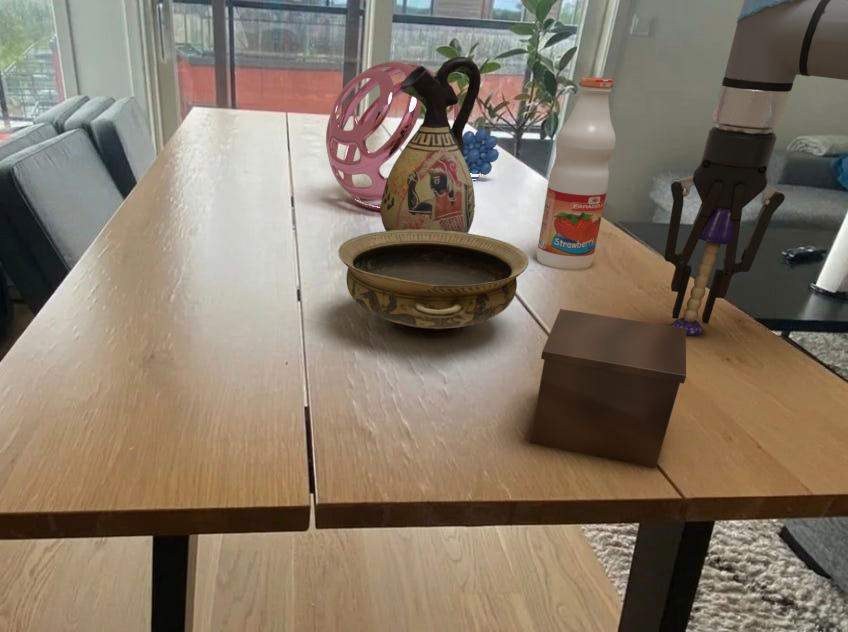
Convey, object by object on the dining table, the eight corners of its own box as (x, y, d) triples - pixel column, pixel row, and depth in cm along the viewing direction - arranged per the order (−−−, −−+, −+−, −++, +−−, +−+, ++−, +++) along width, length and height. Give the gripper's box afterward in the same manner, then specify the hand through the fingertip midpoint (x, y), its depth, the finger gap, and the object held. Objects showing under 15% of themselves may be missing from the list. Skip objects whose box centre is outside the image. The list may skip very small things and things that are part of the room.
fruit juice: (572, 253, 136) (605, 76, 121) (602, 269, 128) (642, 82, 113) (525, 256, 133) (553, 74, 118) (554, 272, 125) (588, 81, 111)
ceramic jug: (390, 270, 123) (403, 57, 107) (370, 243, 135) (379, 49, 119) (490, 268, 126) (517, 61, 110) (461, 242, 139) (482, 53, 123)
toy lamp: (694, 326, 107) (730, 202, 98) (713, 339, 103) (752, 211, 94) (663, 327, 106) (696, 202, 97) (680, 340, 102) (717, 211, 93)
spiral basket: (440, 94, 168) (364, 9, 147) (516, 148, 152) (444, 61, 131) (360, 199, 176) (278, 134, 155) (424, 261, 160) (343, 197, 139)
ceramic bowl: (340, 287, 114) (341, 218, 109) (499, 294, 115) (509, 226, 109) (331, 370, 89) (333, 285, 83) (537, 378, 89) (551, 295, 84)
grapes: (498, 180, 189) (505, 128, 183) (493, 185, 184) (500, 131, 177) (452, 175, 192) (457, 123, 186) (446, 180, 187) (451, 126, 180)
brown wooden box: (661, 416, 82) (686, 328, 77) (658, 472, 72) (686, 375, 67) (544, 394, 86) (560, 308, 80) (525, 445, 75) (542, 351, 70)
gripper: (814, 131, 92) (752, 318, 104) (673, 118, 96) (629, 300, 108) (823, 139, 86) (756, 337, 98) (672, 125, 90) (626, 316, 102)
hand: (690, 317), depth 103 cm, fingers closed on toy lamp, 3 cm apart
